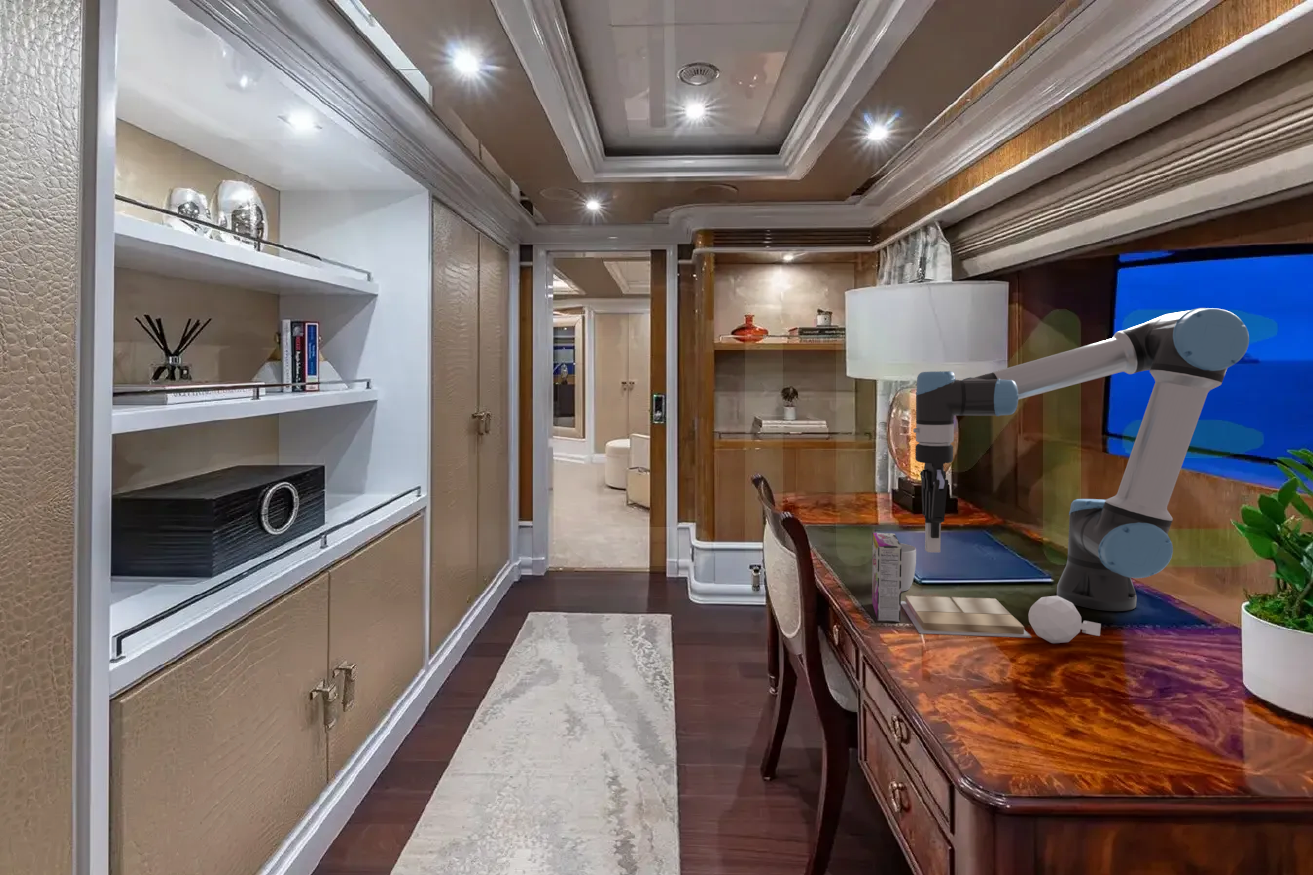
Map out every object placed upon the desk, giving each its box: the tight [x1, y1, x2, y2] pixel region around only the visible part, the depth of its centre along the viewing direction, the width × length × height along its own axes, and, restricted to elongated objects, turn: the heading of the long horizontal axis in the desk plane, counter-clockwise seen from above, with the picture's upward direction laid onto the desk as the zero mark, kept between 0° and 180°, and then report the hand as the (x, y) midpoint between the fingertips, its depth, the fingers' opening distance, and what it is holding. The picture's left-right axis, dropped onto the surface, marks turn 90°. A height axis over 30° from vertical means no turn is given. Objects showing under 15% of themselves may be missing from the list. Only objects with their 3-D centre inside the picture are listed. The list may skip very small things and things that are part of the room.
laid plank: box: [915, 611, 1025, 634], centre depth 139 cm, size 19×7×2 cm, turn 83°
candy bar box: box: [871, 532, 902, 623], centre depth 147 cm, size 11×5×16 cm, turn 168°
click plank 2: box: [950, 596, 1012, 615], centre depth 146 cm, size 9×9×1 cm
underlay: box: [901, 600, 1032, 639], centre depth 144 cm, size 21×18×1 cm
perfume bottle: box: [1028, 595, 1102, 644], centre depth 131 cm, size 9×9×12 cm
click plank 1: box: [904, 595, 961, 616], centre depth 148 cm, size 9×9×1 cm
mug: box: [899, 542, 917, 593], centre depth 165 cm, size 13×9×10 cm
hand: (932, 550), depth 149 cm, fingers closed
